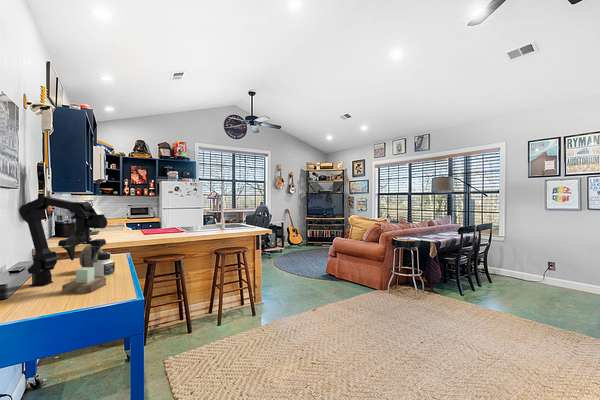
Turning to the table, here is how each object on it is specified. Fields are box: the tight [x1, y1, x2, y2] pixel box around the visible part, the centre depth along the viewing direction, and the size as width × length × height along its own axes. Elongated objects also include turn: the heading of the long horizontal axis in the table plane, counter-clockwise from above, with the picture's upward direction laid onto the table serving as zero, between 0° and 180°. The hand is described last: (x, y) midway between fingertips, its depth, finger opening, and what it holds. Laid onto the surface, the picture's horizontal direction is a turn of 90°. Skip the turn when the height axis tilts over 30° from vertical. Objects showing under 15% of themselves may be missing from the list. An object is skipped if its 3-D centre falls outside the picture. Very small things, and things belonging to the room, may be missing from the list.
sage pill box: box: [75, 267, 95, 283], centre depth 136 cm, size 5×5×6 cm
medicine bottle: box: [93, 252, 116, 278], centre depth 160 cm, size 7×7×12 cm
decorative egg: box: [78, 244, 105, 268], centre depth 169 cm, size 12×12×15 cm
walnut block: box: [61, 277, 107, 294], centre depth 136 cm, size 12×12×4 cm
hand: (82, 260), depth 142 cm, fingers open, 9 cm apart
